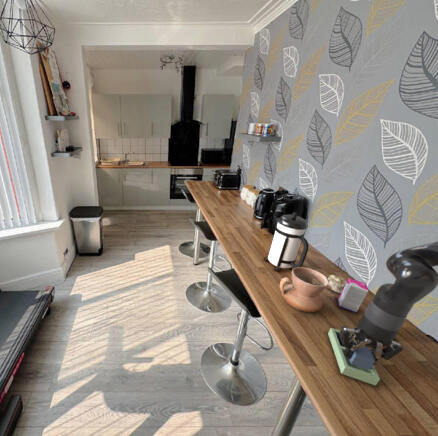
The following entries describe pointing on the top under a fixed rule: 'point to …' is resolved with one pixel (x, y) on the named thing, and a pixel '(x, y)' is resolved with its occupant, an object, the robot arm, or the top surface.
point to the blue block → (363, 358)
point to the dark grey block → (341, 338)
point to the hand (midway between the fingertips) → (358, 359)
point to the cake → (336, 283)
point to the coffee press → (288, 242)
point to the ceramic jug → (304, 289)
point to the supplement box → (353, 295)
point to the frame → (346, 366)
